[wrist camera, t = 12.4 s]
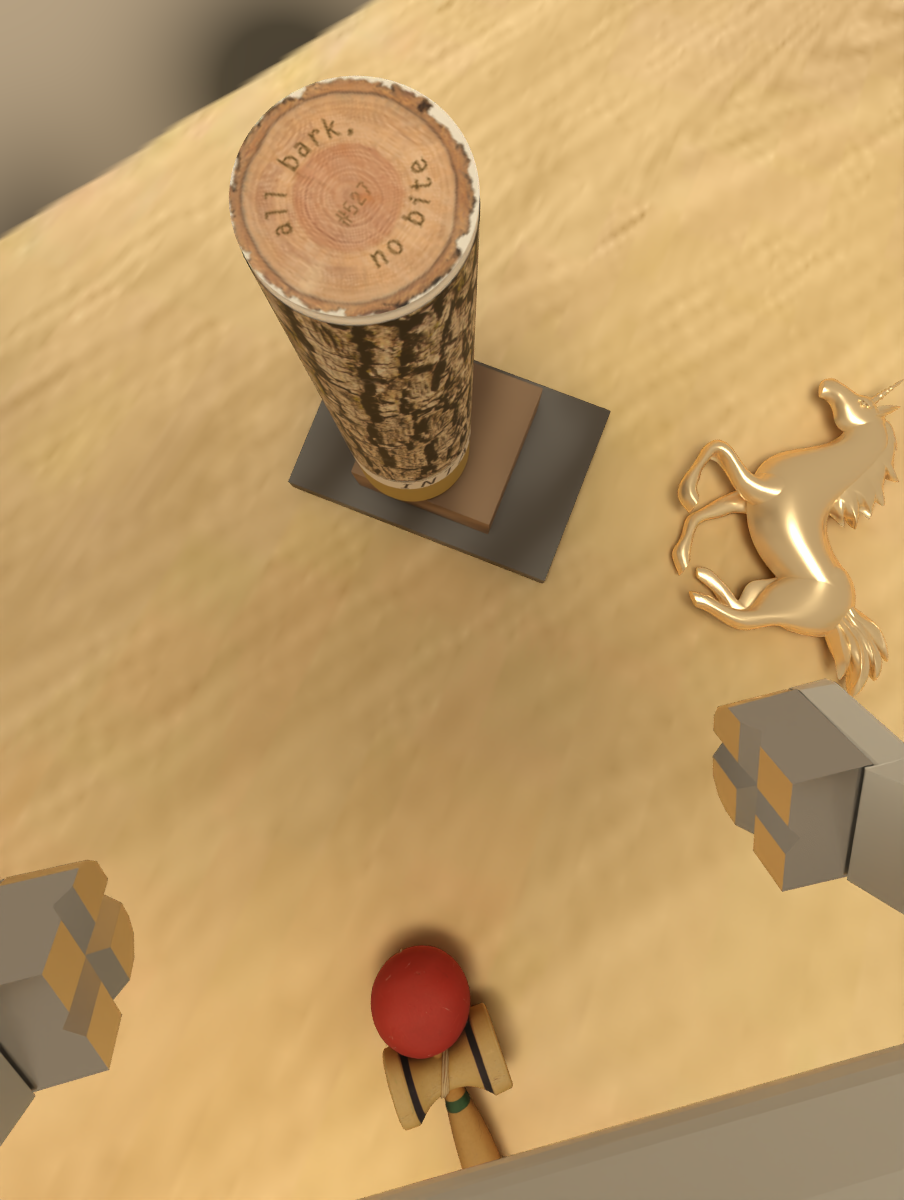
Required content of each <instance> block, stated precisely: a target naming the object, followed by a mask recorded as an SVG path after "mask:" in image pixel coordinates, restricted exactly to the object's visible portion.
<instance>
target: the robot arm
mask: <svg viewBox="0 0 904 1200" xmlns="http://www.w3.org/2000/svg"><path fill="white" fill-rule="evenodd" d="M713 731H714V732H715V733H716V735H717V736H718V737H719V739H720V740H721V741H722V744H721V745H720V747H719V748H718V750H717V751H716V752H715V754H714V755H713V777H714V781H715V785H716V789H717V792H718V796H719V798H720V800H721V802H722V804H723V806H724V808H725V810H726V812H727V813H728V815H729V816H730V818H731V819H732V821H733V822H734V824H735V825H737V826H739V827H741V828H743V829H745V830H747V831H749V832H751V833H753V834H754V845H753V851H754V853H755V854H756V855H757V857H758V858H759V860H760V861H761V862H762V864H763V865H764V867H765V868H766V870H767V871H768V872H769V874H770V875H771V877H772V878H773V879H774V881H775V882H776V884H777V885H778V887H779V888H780V889H781V891H782V892H783V891H787V890H791V889H795V888H800V887H804V886H808V885H812V884H817V883H821V882H825V881H830V880H834V879H838V878H842V877H847V880H848V881H850V882H851V883H853V884H854V885H856V886H858V887H859V888H861V889H863V890H864V891H866V892H868V893H869V894H871V895H873V896H874V897H876V898H878V899H879V900H881V901H882V902H884V903H886V904H887V905H889V906H891V907H892V908H894V909H896V910H897V911H899V912H901V913H902V914H904V742H902V741H901V740H900V739H899V738H898V737H897V736H896V735H895V734H893V733H892V732H891V731H890V730H889V729H888V728H887V727H885V726H884V725H883V724H882V723H881V722H880V721H879V720H878V719H876V718H875V717H874V716H873V715H872V714H871V713H870V712H869V711H867V710H866V709H865V708H864V707H863V706H862V705H861V704H860V703H858V702H857V701H856V700H855V699H854V698H853V697H852V696H851V695H849V694H848V693H847V692H846V691H845V690H844V689H843V688H842V687H840V686H839V685H838V684H837V683H836V682H834V681H831V680H828V679H822V680H818V681H814V682H810V683H807V684H803V685H799V686H795V687H791V688H789V689H788V690H781V691H777V692H773V693H769V694H765V695H761V696H757V697H753V698H750V699H746V700H742V701H738V702H734V703H730V704H726V705H722V706H718V707H717V710H716V712H715V714H714V728H713ZM107 881H108V878H107V876H106V875H105V873H104V872H103V870H102V869H101V867H100V865H99V864H98V862H97V861H92V860H84V861H79V862H75V863H70V864H65V865H61V866H56V867H52V868H47V869H43V870H38V871H33V872H29V873H24V874H20V875H15V876H11V877H7V878H6V879H2V880H0V1146H1V1145H2V1143H3V1142H4V1140H5V1139H6V1138H7V1136H8V1135H9V1133H10V1132H11V1130H12V1129H13V1128H14V1126H15V1125H16V1123H17V1122H18V1120H19V1119H20V1117H21V1116H22V1115H23V1113H24V1112H25V1110H26V1109H27V1107H28V1106H29V1105H30V1103H31V1102H32V1100H33V1099H34V1097H35V1094H34V1093H33V1092H36V1091H39V1090H42V1089H46V1088H49V1087H52V1086H56V1085H59V1084H63V1083H66V1082H69V1081H73V1080H76V1079H80V1078H83V1077H86V1076H90V1075H93V1074H97V1073H100V1072H103V1071H107V1070H109V1068H110V1064H111V1060H112V1055H113V1051H114V1047H115V1043H116V1038H117V1034H118V1030H119V1025H120V1021H121V1017H122V1014H121V1012H120V1010H119V1009H118V1007H117V1006H116V1004H115V1002H114V1001H113V1000H114V999H115V997H116V996H117V995H118V994H119V992H120V991H121V990H122V989H123V988H124V986H125V985H126V984H127V983H128V981H129V980H130V977H131V972H132V967H133V962H134V932H133V929H132V925H131V922H130V918H129V915H128V913H127V912H126V910H125V908H124V906H123V904H122V903H121V902H119V901H117V900H115V899H113V898H110V897H108V896H106V895H104V892H105V888H106V885H107ZM357 1200H904V1043H903V1044H900V1045H896V1046H893V1047H889V1048H886V1049H882V1050H879V1051H875V1052H872V1053H868V1054H865V1055H861V1056H858V1057H854V1058H851V1059H847V1060H844V1061H840V1062H837V1063H833V1064H830V1065H826V1066H823V1067H819V1068H816V1069H812V1070H809V1071H805V1072H802V1073H798V1074H795V1075H791V1076H788V1077H784V1078H781V1079H777V1080H774V1081H770V1082H767V1083H763V1084H760V1085H756V1086H753V1087H749V1088H746V1089H742V1090H739V1091H735V1092H732V1093H728V1094H725V1095H721V1096H718V1097H714V1098H710V1099H707V1100H703V1101H700V1102H696V1103H693V1104H689V1105H686V1106H682V1107H679V1108H675V1109H672V1110H668V1111H665V1112H661V1113H658V1114H654V1115H651V1116H647V1117H644V1118H640V1119H637V1120H633V1121H630V1122H626V1123H623V1124H619V1125H616V1126H612V1127H609V1128H605V1129H602V1130H598V1131H595V1132H591V1133H588V1134H584V1135H581V1136H577V1137H574V1138H570V1139H567V1140H563V1141H560V1142H556V1143H553V1144H549V1145H546V1146H542V1147H538V1148H535V1149H532V1150H528V1151H525V1152H521V1153H518V1154H514V1155H511V1156H507V1157H504V1158H500V1159H497V1160H493V1161H490V1162H486V1163H483V1164H479V1165H476V1166H472V1167H469V1168H465V1169H462V1170H458V1171H455V1172H451V1173H448V1174H444V1175H441V1176H437V1177H434V1178H430V1179H427V1180H423V1181H420V1182H416V1183H413V1184H409V1185H406V1186H402V1187H399V1188H395V1189H392V1190H388V1191H385V1192H381V1193H378V1194H374V1195H371V1196H367V1197H364V1198H361V1199H357Z"/></svg>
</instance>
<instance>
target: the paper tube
mask: <svg viewBox="0 0 904 1200" xmlns="http://www.w3.org/2000/svg"><path fill="white" fill-rule="evenodd" d="M229 206H230V215H231V222H232V226H233V229H234V233H235V236H236V239H237V241H238V244H239V246H240V248H241V250H242V253H243V255H244V258H245V260H246V261H247V263H248V265H249V267H250V269H251V271H252V273H253V274H254V276H255V278H256V280H257V282H258V284H259V285H260V287H261V289H262V291H263V293H264V294H265V296H266V298H267V300H268V302H269V303H270V305H271V307H272V309H273V311H274V313H275V314H276V316H277V318H278V320H279V322H280V323H281V325H282V327H283V329H284V331H285V332H286V334H287V336H288V338H289V340H290V342H291V343H292V345H293V347H294V349H295V351H296V352H297V354H298V356H299V358H300V360H301V361H302V363H303V365H304V367H305V369H306V371H307V372H308V374H309V376H310V378H311V380H312V381H313V383H314V385H315V387H316V389H317V390H318V392H319V394H320V396H321V398H322V400H323V401H324V403H325V405H326V407H327V409H328V410H329V412H330V414H331V416H332V418H333V419H334V421H335V423H336V425H337V427H338V429H339V430H340V432H341V434H342V436H343V438H344V439H345V441H346V443H347V445H348V447H349V448H350V450H351V452H352V453H353V456H354V458H355V459H356V461H357V462H358V464H359V466H360V467H361V469H362V471H363V473H364V475H365V476H366V478H367V479H368V480H369V481H370V483H371V484H372V485H373V486H374V487H375V488H377V489H378V490H379V491H381V492H382V493H384V494H386V495H388V496H390V497H392V498H395V499H398V500H403V501H423V500H427V499H431V498H433V497H436V496H438V495H440V494H442V493H443V492H445V491H446V490H448V489H449V488H450V487H451V486H452V485H453V484H454V483H455V482H456V481H457V479H458V478H459V477H460V475H461V474H462V472H463V470H464V468H465V466H466V463H467V460H468V456H469V445H470V432H471V427H470V426H471V409H472V386H473V363H474V340H475V317H476V293H477V270H478V247H479V224H480V189H479V178H478V173H477V167H476V164H475V160H474V157H473V154H472V152H471V149H470V147H469V145H468V143H467V141H466V139H465V137H464V135H463V134H462V132H461V131H460V129H459V128H458V126H457V125H456V124H455V122H454V121H453V120H452V119H451V118H450V116H449V115H448V114H447V113H446V112H445V111H444V110H443V109H442V108H440V107H439V106H438V105H437V104H436V103H435V102H433V101H432V100H431V99H429V98H428V97H426V96H425V95H423V94H421V93H420V92H418V91H416V90H414V89H412V88H410V87H408V86H406V85H403V84H400V83H397V82H394V81H391V80H387V79H382V78H377V77H369V76H344V77H336V78H330V79H326V80H322V81H319V82H315V83H313V84H310V85H307V86H305V87H303V88H301V89H299V90H297V91H295V92H293V93H291V94H289V95H288V96H286V97H285V98H283V99H282V100H280V101H279V102H278V103H276V104H275V105H274V106H273V107H271V108H270V109H269V110H268V111H267V112H266V113H265V114H264V115H263V116H262V117H261V118H260V119H259V121H258V122H257V123H256V124H255V125H254V127H253V128H252V129H251V131H250V132H249V134H248V135H247V137H246V139H245V140H244V142H243V144H242V146H241V148H240V150H239V153H238V155H237V158H236V160H235V164H234V167H233V171H232V175H231V181H230V191H229Z"/></svg>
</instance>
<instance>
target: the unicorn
mask: <svg viewBox="0 0 904 1200" xmlns="http://www.w3.org/2000/svg"><path fill="white" fill-rule="evenodd" d="M903 380H904V379H902V380H900V381H898V382H897V383H895V384H894V385H893V386H890V387H889V388H888V389H885V390H884V391H881V393H877V395H876V396H873V397H872V398H870V397H868V396H863V395H859V394H857V393H855V392H854V391H852V390H851V389H850V388H848V387H847V386H846V385H844V384H842V383H841V382H839V381H838V380H836V379H833V378H829V379H824V380H823V381H822V382H821V383H820V385H819V390H818V394H819V397H820V398H823V399H825V400H826V401H827V402H828V403H829V405H830V407H831V409H832V412H833V416H834V421H835V424H836V425H837V427H838V428H839V429H840V430H842V431H843V433H842V434H841V435H840V436H839V437H838V438H837V439H835V440H833V441H831V442H829V443H827V444H823V445H819V446H814V447H808V448H802V449H795V450H789V451H785V452H781V453H778V454H776V455H773V456H771V457H770V458H768V459H767V460H766V461H764V462H763V463H762V464H761V465H760V466H759V468H758V469H757V471H756V472H755V474H753V473H751V472H750V471H749V470H748V469H747V468H746V467H745V466H744V464H743V463H742V462H741V460H740V459H739V457H738V456H737V454H736V453H735V451H734V450H733V448H732V447H731V446H730V445H729V444H728V443H726V442H724V441H722V440H713V441H711V442H709V443H707V444H706V445H705V446H704V447H703V448H702V450H701V451H700V453H699V455H698V457H697V458H696V460H695V462H694V463H693V465H692V466H691V467H690V469H689V470H688V471H687V473H686V474H685V475H684V477H683V478H682V480H681V482H680V484H679V486H678V499H679V501H680V503H681V505H682V506H683V507H684V508H685V509H686V510H687V512H688V513H690V512H691V511H692V510H693V509H694V507H695V506H696V504H697V502H698V499H699V494H698V492H697V484H698V481H699V479H700V475H701V472H702V469H703V468H704V466H705V465H706V464H707V462H708V461H709V460H710V459H711V460H714V461H715V462H716V463H718V464H719V465H720V467H721V468H722V469H723V470H724V472H725V473H726V475H727V477H728V478H729V480H730V482H731V484H732V485H733V487H734V488H735V491H732V492H730V493H728V494H726V495H724V496H722V497H720V498H718V499H716V500H714V501H713V502H711V503H709V504H708V505H706V506H705V507H703V508H701V509H699V510H697V511H695V512H693V513H691V514H690V515H689V516H688V517H687V518H686V520H685V522H684V526H683V530H682V534H681V537H680V539H679V541H678V542H677V544H676V545H675V547H674V548H673V551H672V558H673V562H674V564H675V567H676V569H677V572H678V575H680V574H681V573H682V572H683V571H684V570H685V568H686V567H687V565H688V563H689V561H690V550H691V545H692V541H693V536H694V533H695V530H696V528H697V526H698V525H699V524H700V523H701V522H703V521H705V520H709V519H715V518H719V517H722V516H725V515H727V514H730V513H743V514H747V522H748V528H749V532H750V535H751V538H752V541H753V543H754V546H755V548H756V550H757V551H758V553H759V555H760V557H761V558H762V560H763V561H764V563H765V564H766V565H767V567H768V568H769V569H770V570H771V572H772V573H773V574H774V575H775V576H776V578H771V579H760V580H754V581H752V582H750V583H748V584H747V585H746V587H745V588H744V590H743V592H742V594H741V597H740V599H739V600H737V599H736V598H735V596H734V595H733V594H732V592H731V591H730V589H729V588H728V587H727V586H726V585H725V583H724V582H723V581H722V580H721V579H720V578H719V577H718V576H717V575H716V574H715V573H713V572H712V571H711V570H709V569H707V568H703V567H698V568H696V577H697V578H698V579H699V580H700V581H701V582H703V583H704V584H705V585H706V586H707V587H709V588H710V589H711V590H712V591H713V593H714V594H715V596H716V597H717V599H718V600H716V599H714V598H712V597H710V596H708V595H705V594H702V593H698V592H693V591H689V595H690V597H691V600H692V602H693V604H694V605H695V607H698V608H701V609H703V610H705V611H707V612H709V613H710V614H712V615H713V616H715V617H716V618H718V619H719V620H721V621H722V622H724V623H726V624H727V625H729V626H731V627H733V628H736V629H739V630H752V629H757V628H761V627H767V626H781V627H783V628H784V629H786V630H789V631H791V632H794V633H798V634H803V635H808V636H814V637H825V640H826V643H827V646H828V648H829V650H830V652H831V654H832V656H833V658H834V661H835V665H836V672H837V676H838V679H839V680H840V679H842V678H843V676H844V675H845V673H846V689H847V693H848V694H849V695H851V696H852V697H855V696H856V695H857V694H859V692H860V691H861V690H862V689H863V687H864V686H865V684H866V682H867V679H868V675H869V677H870V678H871V679H872V680H873V681H875V680H876V679H877V678H878V677H879V675H880V672H881V669H882V659H883V660H884V661H886V662H887V661H888V650H887V645H886V641H885V638H884V636H883V634H882V632H881V630H880V629H879V627H878V626H877V625H876V624H875V623H874V622H873V621H872V620H870V619H869V618H868V617H867V616H865V615H864V614H863V613H861V612H860V611H859V610H857V609H856V608H855V602H856V595H855V588H854V585H853V582H852V580H851V578H850V576H849V574H848V573H847V572H846V570H845V569H844V568H843V567H842V566H841V565H840V563H839V562H838V560H837V558H836V557H835V555H834V553H833V551H832V548H831V546H830V543H829V539H828V535H827V520H828V517H829V515H830V517H832V518H833V519H834V520H836V521H837V522H838V524H839V525H840V526H843V527H844V519H845V521H846V522H847V524H848V525H849V526H850V527H852V528H854V529H856V527H857V523H858V518H859V512H861V513H863V514H864V515H865V517H866V518H868V519H870V517H871V514H872V510H873V506H874V504H875V502H877V503H878V504H880V505H882V506H884V505H885V498H884V492H883V485H884V481H885V479H887V480H890V481H893V482H899V480H898V478H897V476H896V473H895V471H894V455H895V450H897V442H896V438H895V434H894V430H893V428H892V426H891V424H890V423H889V422H888V421H886V419H885V418H884V417H886V415H888V414H890V413H892V412H894V411H895V410H897V409H898V408H900V406H893V405H886V406H879V407H877V406H876V403H877V402H878V401H879V400H880V399H883V397H884V396H886V395H887V394H888V393H889V391H891V390H893V389H894V388H895V387H896V386H898V385H899V384H900V383H901V382H902V381H903ZM881 657H882V658H881Z"/></svg>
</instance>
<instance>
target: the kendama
mask: <svg viewBox="0 0 904 1200" xmlns="http://www.w3.org/2000/svg"><path fill="white" fill-rule="evenodd" d="M371 1011H372V1017H373V1021H374V1024H375V1027H376V1029H377V1031H378V1033H379V1035H380V1036H381V1038H382V1039H383V1040H384V1042H385V1043H386V1044H387V1045H388V1046H389V1047H387V1048H385V1049H384V1051H383V1064H384V1069H385V1074H386V1078H387V1083H388V1087H389V1090H390V1093H391V1096H392V1100H393V1103H394V1106H395V1109H396V1112H397V1115H398V1118H399V1121H400V1123H401V1125H402V1127H403V1128H404V1129H405V1130H409V1129H412V1128H415V1127H418V1126H420V1125H421V1124H422V1122H423V1120H424V1118H425V1115H426V1113H427V1112H428V1110H429V1108H430V1107H431V1106H432V1104H433V1103H434V1102H435V1101H436V1100H437V1099H438V1098H439V1097H441V1098H445V1103H446V1108H447V1111H448V1116H449V1121H450V1125H451V1129H452V1134H453V1138H454V1142H455V1145H456V1149H457V1153H458V1156H459V1159H460V1162H461V1166H462V1169H465V1168H469V1167H472V1166H476V1165H479V1164H483V1163H486V1162H490V1161H493V1160H497V1159H500V1158H501V1157H500V1155H499V1153H498V1150H497V1148H496V1146H495V1143H494V1141H493V1139H492V1137H491V1134H490V1132H489V1130H488V1128H487V1126H486V1124H485V1122H484V1120H483V1118H482V1117H481V1115H480V1113H479V1111H478V1109H477V1108H476V1106H475V1104H474V1102H473V1100H472V1099H471V1097H470V1095H469V1093H468V1092H467V1090H466V1088H465V1086H471V1087H478V1088H482V1089H485V1090H487V1091H489V1092H492V1093H493V1094H495V1095H498V1094H500V1093H502V1092H504V1091H506V1090H508V1089H510V1088H512V1086H513V1083H512V1080H511V1077H510V1074H509V1071H508V1069H507V1065H506V1063H505V1060H504V1057H503V1054H502V1051H501V1048H500V1045H499V1042H498V1040H497V1037H496V1034H495V1031H494V1028H493V1025H492V1022H491V1019H490V1017H489V1014H488V1011H487V1008H486V1006H485V1004H483V1003H480V1004H477V1005H475V1006H472V1007H470V991H469V986H468V982H467V979H466V977H465V975H464V972H463V971H462V969H461V967H460V966H459V965H458V963H457V962H456V961H455V960H454V959H453V958H452V957H451V956H450V955H449V954H447V953H446V952H444V951H443V950H441V949H439V948H436V947H433V946H424V945H420V946H413V947H409V948H406V949H400V951H399V952H398V953H396V954H395V955H393V956H392V957H391V958H390V959H389V960H388V961H387V962H386V963H385V964H384V965H383V967H382V968H381V969H380V971H379V973H378V975H377V977H376V979H375V981H374V984H373V988H372V994H371Z"/></svg>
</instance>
